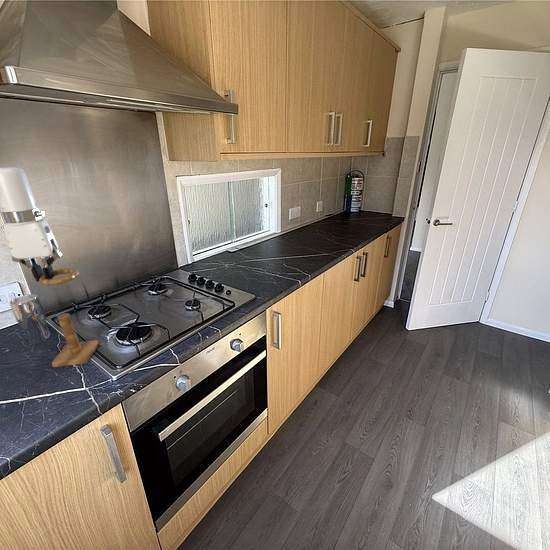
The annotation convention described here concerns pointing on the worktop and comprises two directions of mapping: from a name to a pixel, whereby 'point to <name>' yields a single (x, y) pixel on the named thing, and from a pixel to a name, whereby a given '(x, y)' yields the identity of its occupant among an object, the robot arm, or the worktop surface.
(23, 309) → the beer glass
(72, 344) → the stand
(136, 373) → the worktop surface
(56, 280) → the ring
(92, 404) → the worktop surface
